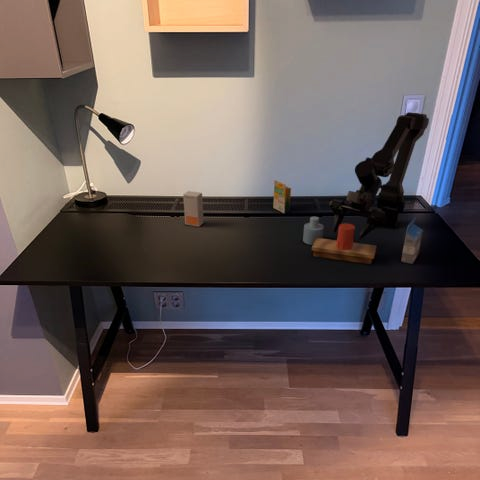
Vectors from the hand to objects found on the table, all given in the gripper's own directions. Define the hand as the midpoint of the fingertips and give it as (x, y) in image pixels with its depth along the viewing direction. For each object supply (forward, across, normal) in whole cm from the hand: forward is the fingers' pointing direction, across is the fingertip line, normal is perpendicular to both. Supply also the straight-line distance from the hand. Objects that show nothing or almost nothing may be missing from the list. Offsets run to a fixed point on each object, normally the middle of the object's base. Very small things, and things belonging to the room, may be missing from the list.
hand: (346, 235), depth 148 cm
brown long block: (+5, 0, +5) cm, 7 cm away
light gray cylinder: (+3, -14, +7) cm, 16 cm away
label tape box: (-3, +18, +14) cm, 23 cm away
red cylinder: (+3, 0, +2) cm, 4 cm away
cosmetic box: (+14, -58, -4) cm, 59 cm away
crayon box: (-9, -40, +20) cm, 45 cm away
